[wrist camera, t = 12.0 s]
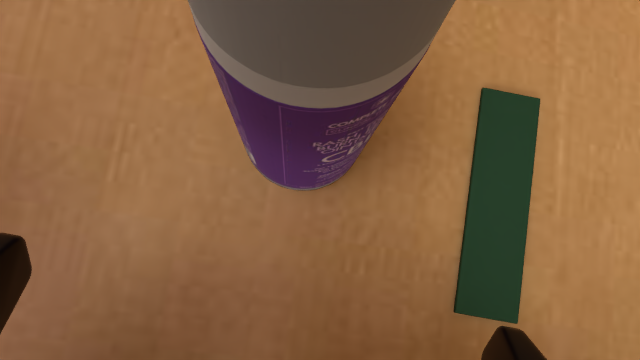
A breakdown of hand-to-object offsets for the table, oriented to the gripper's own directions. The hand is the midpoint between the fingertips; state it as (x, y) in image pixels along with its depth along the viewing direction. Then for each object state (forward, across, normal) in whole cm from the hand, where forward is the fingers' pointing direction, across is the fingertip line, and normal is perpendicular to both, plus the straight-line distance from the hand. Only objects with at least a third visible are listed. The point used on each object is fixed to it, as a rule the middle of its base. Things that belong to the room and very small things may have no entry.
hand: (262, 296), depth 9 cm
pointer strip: (+10, -8, +3) cm, 13 cm away
